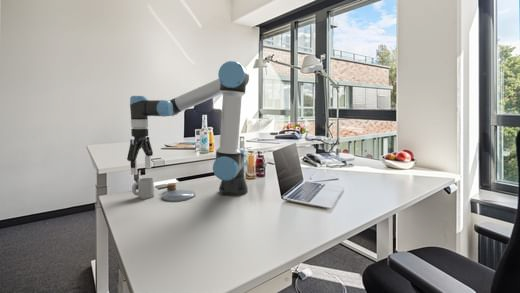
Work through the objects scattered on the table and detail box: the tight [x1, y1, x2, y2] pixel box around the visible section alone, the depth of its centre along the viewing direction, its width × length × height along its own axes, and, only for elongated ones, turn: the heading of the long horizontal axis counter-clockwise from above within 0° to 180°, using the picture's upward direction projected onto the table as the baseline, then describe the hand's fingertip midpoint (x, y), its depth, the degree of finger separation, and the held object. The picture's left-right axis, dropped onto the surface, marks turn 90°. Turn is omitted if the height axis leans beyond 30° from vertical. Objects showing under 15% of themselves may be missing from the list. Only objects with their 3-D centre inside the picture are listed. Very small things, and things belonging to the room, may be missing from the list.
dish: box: [161, 189, 196, 202], centre depth 143 cm, size 16×16×1 cm
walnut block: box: [166, 182, 177, 192], centre depth 151 cm, size 4×4×4 cm
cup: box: [131, 177, 155, 200], centre depth 141 cm, size 7×10×9 cm
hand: (141, 171), depth 140 cm, fingers open, 13 cm apart
